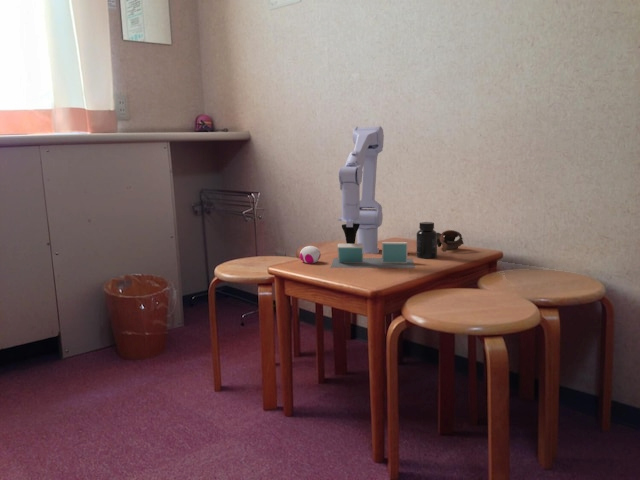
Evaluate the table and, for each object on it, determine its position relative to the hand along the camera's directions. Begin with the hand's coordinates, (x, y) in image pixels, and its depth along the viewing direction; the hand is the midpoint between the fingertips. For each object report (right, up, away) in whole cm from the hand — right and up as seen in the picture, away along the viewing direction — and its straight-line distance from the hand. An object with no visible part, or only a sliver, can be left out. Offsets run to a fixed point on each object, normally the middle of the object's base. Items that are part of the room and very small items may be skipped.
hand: (350, 246), depth 182 cm
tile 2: (+14, -5, 0) cm, 15 cm away
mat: (+7, -6, 0) cm, 9 cm away
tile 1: (0, -5, +1) cm, 5 cm away
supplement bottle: (+26, -4, +9) cm, 28 cm away
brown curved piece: (+36, -2, +23) cm, 43 cm away
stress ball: (-13, -6, +2) cm, 15 cm away
